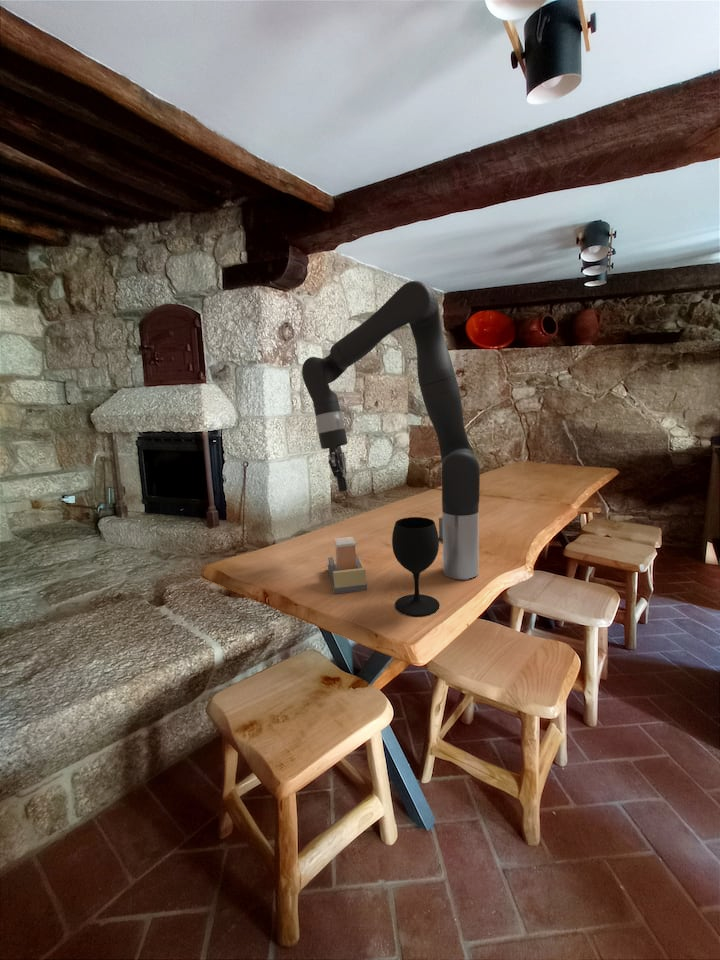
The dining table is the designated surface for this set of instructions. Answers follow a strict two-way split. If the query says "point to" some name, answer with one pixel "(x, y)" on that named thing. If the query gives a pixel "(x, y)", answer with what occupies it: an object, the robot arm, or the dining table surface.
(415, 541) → the wine glass
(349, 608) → the dining table surface
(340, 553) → the block
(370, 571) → the dining table surface
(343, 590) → the key track
